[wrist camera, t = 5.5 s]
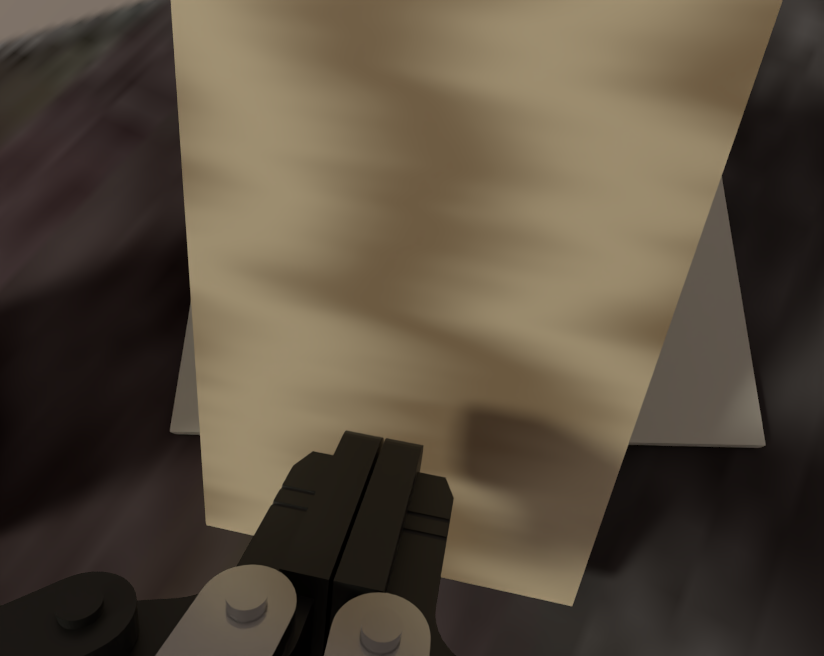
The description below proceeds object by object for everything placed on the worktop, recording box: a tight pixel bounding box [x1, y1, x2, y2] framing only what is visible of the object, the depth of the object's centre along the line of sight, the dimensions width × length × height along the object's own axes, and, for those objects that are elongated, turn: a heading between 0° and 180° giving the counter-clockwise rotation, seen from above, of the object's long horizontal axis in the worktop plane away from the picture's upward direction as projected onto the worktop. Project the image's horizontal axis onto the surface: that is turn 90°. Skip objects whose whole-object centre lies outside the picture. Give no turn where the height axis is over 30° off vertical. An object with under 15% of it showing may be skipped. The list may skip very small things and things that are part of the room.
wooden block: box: [171, 0, 783, 606], centre depth 14 cm, size 10×2×15 cm
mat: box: [170, 176, 766, 448], centre depth 22 cm, size 18×15×1 cm
